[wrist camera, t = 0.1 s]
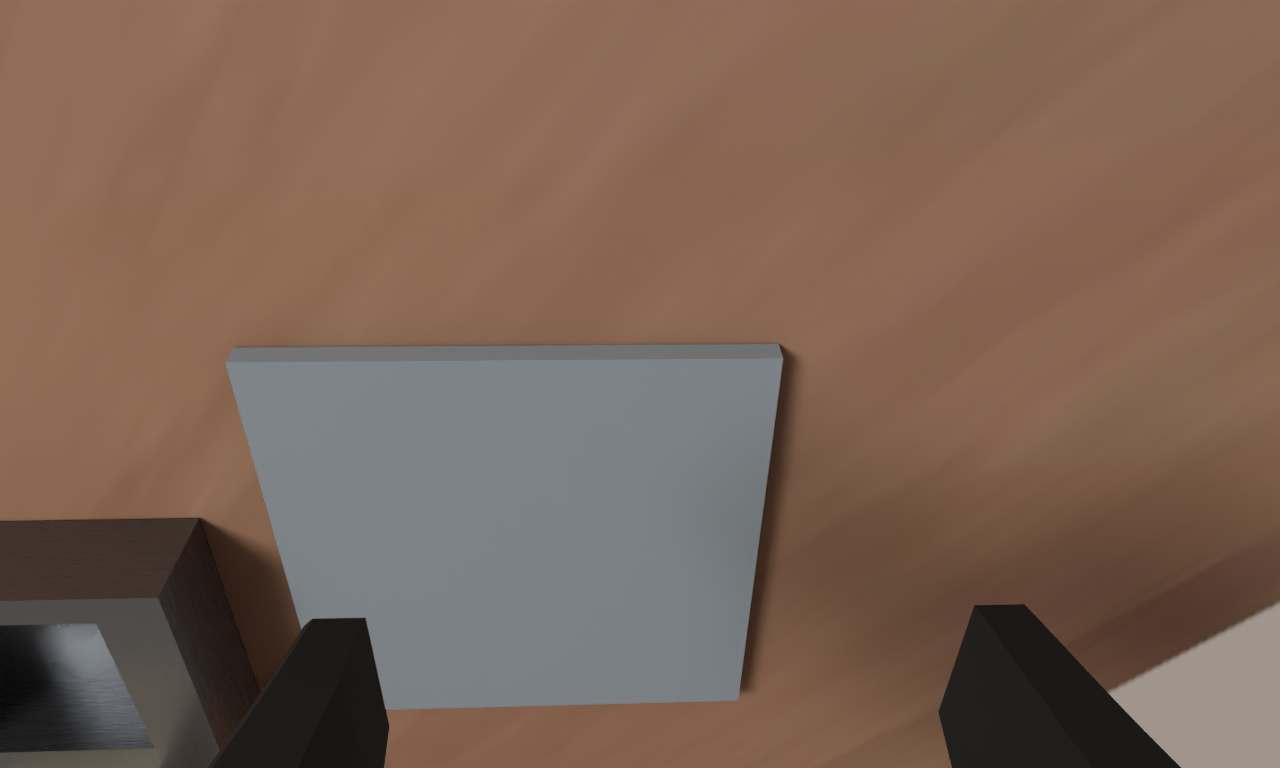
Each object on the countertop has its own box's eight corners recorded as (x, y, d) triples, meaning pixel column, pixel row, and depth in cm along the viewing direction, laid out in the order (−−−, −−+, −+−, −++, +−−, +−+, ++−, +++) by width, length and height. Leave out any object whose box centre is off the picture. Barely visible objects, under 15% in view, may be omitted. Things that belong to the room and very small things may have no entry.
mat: (735, 683, 27) (737, 700, 27) (329, 693, 27) (324, 711, 26) (778, 344, 20) (783, 358, 20) (233, 347, 20) (224, 362, 19)
